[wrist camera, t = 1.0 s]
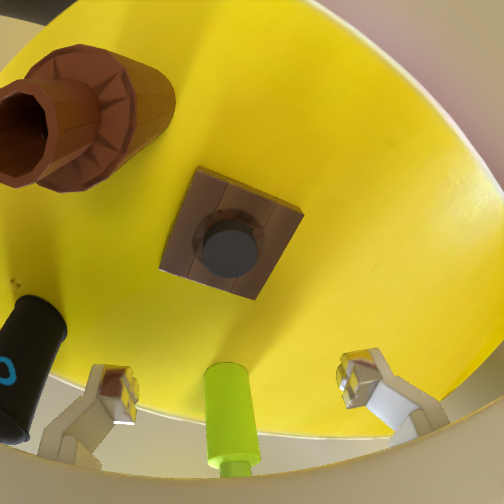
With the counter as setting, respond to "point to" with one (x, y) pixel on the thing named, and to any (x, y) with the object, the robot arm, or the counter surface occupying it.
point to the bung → (229, 249)
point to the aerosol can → (26, 363)
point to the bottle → (79, 118)
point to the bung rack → (220, 209)
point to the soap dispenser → (230, 421)
